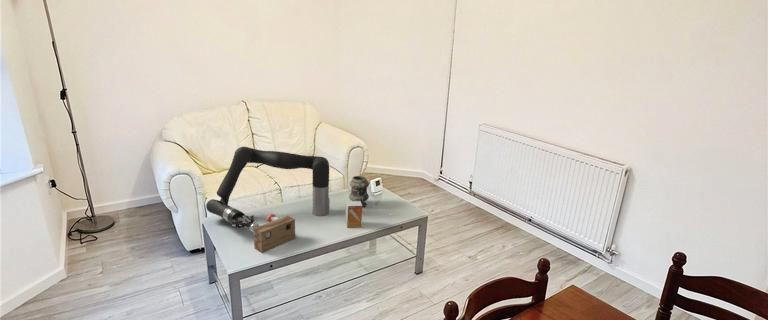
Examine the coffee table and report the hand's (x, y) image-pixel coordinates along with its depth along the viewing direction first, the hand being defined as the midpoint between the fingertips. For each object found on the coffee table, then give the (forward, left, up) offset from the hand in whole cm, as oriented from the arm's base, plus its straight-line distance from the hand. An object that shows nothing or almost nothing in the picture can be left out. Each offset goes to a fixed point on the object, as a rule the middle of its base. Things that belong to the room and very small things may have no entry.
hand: (253, 226), depth 207 cm
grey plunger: (-3, +5, -2) cm, 6 cm away
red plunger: (-12, -3, -2) cm, 13 cm away
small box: (-53, -5, -8) cm, 54 cm away
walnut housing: (-10, +5, -8) cm, 14 cm away
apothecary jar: (-64, -30, -8) cm, 71 cm away
